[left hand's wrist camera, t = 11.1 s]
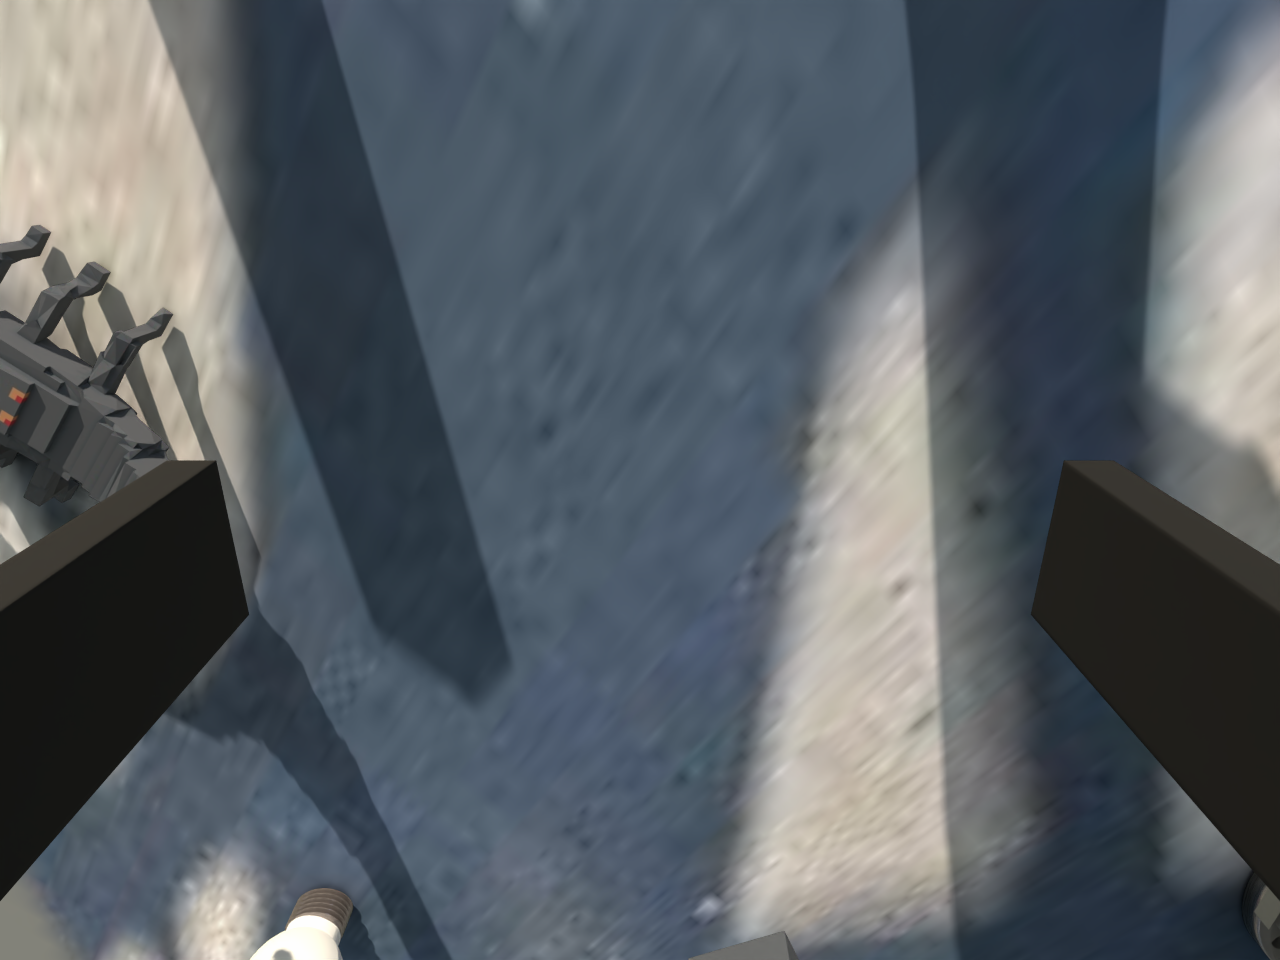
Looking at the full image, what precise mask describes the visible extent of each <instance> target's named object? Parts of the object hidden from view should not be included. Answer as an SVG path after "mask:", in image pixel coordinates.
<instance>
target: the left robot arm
mask: <svg viewBox="0 0 1280 960" xmlns="http://www.w3.org/2000/svg"><path fill="white" fill-rule="evenodd" d="M248 615H249V612H248V607H247V603H246V598H245V593H244V589H243V584H242V579H241V575H240V570H239V565H238V561H237V556H236V551H235V547H234V542H233V537H232V533H231V528H230V523H229V519H228V514H227V509H226V505H225V500H224V495H223V491H222V486H221V481H220V477H219V472H218V467H217V463H216V461H165V462H164V463H162V464H160V465H159V466H157V467H156V468H154V469H152V470H151V471H149V472H148V473H146V474H144V475H143V476H141V477H140V478H138V479H136V480H135V481H133V482H132V483H130V484H128V485H127V486H125V487H124V488H122V489H120V490H119V491H117V492H116V493H114V494H112V495H111V496H109V497H108V498H106V499H104V500H103V501H101V502H100V503H98V504H96V505H95V506H93V507H92V508H90V509H88V510H87V511H85V512H84V513H82V514H80V515H79V516H77V517H76V518H74V519H73V520H71V521H69V522H68V523H66V524H65V525H63V526H61V527H60V528H58V529H57V530H55V531H53V532H52V533H50V534H49V535H47V536H45V537H44V538H42V539H41V540H39V541H37V542H36V543H34V544H33V545H31V546H29V547H28V548H26V549H25V550H23V551H21V552H20V553H18V554H17V555H15V556H13V557H12V558H10V559H9V560H7V561H5V562H4V563H2V564H1V565H0V901H1V900H2V899H3V897H4V896H5V895H6V894H7V893H8V892H9V890H10V889H11V888H12V887H13V886H14V885H15V884H16V882H17V881H18V880H19V879H20V878H21V877H22V875H23V874H24V873H25V872H26V871H27V870H28V869H29V867H30V866H31V865H32V864H33V863H34V862H35V861H36V859H37V858H38V857H39V856H40V855H41V854H42V852H43V851H44V850H45V849H46V848H47V847H48V846H49V844H50V843H51V842H52V841H53V840H54V839H55V837H56V836H57V835H58V834H59V833H60V832H61V831H62V829H63V828H64V827H65V826H66V825H67V824H68V822H69V821H70V820H71V819H72V818H73V817H74V816H75V814H76V813H77V812H78V811H79V810H80V809H81V808H82V806H83V805H84V804H85V803H86V802H87V801H88V799H89V798H90V797H91V796H92V795H93V794H94V793H95V791H96V790H97V789H98V788H99V787H100V786H101V784H102V783H103V782H104V781H105V780H106V779H107V778H108V776H109V775H110V774H111V773H112V772H113V771H114V770H115V768H116V767H117V766H118V765H119V764H120V763H121V761H122V760H123V759H124V758H125V757H126V756H127V755H128V753H129V752H130V751H131V750H132V749H133V748H134V746H135V745H136V744H137V743H138V742H139V741H140V740H141V738H142V737H143V736H144V735H145V734H146V733H147V731H148V730H149V729H150V728H151V727H152V726H153V725H154V723H155V722H156V721H157V720H158V719H159V718H160V717H161V715H162V714H163V713H164V712H165V711H166V710H167V708H168V707H169V706H170V705H171V704H172V703H173V702H174V700H175V699H176V698H177V697H178V696H179V695H180V693H181V692H182V691H183V690H184V689H185V688H186V687H187V685H188V684H189V683H190V682H191V681H192V680H193V679H194V677H195V676H196V675H197V674H198V673H199V672H200V670H201V669H202V668H203V667H204V666H205V665H206V664H207V662H208V661H209V660H210V659H211V658H212V657H213V655H214V654H215V653H216V652H217V651H218V650H219V649H220V647H221V646H222V645H223V644H224V643H225V642H226V640H227V639H228V638H229V637H230V636H231V635H232V634H233V632H234V631H235V630H236V629H237V628H238V627H239V626H240V624H241V623H242V622H243V621H244V620H245V619H246V617H247V616H248ZM1031 615H1032V616H1033V617H1034V619H1035V620H1036V621H1037V622H1038V623H1039V624H1040V626H1041V627H1042V628H1043V629H1044V630H1045V631H1046V632H1047V634H1048V635H1049V636H1050V637H1051V638H1052V639H1053V640H1054V642H1055V643H1056V644H1057V645H1058V646H1059V647H1060V649H1061V650H1062V651H1063V652H1064V653H1065V654H1066V655H1067V657H1068V658H1069V659H1070V660H1071V661H1072V662H1073V664H1074V665H1075V666H1076V667H1077V668H1078V669H1079V670H1080V672H1081V673H1082V674H1083V675H1084V676H1085V677H1086V679H1087V680H1088V681H1089V682H1090V683H1091V684H1092V685H1093V687H1094V688H1095V689H1096V690H1097V691H1098V692H1099V693H1100V695H1101V696H1102V697H1103V698H1104V699H1105V700H1106V702H1107V703H1108V704H1109V705H1110V706H1111V707H1112V708H1113V710H1114V711H1115V712H1116V713H1117V714H1118V715H1119V717H1120V718H1121V719H1122V720H1123V721H1124V722H1125V723H1126V725H1127V726H1128V727H1129V728H1130V729H1131V730H1132V731H1133V733H1134V734H1135V735H1136V736H1137V737H1138V738H1139V740H1140V741H1141V742H1142V743H1143V744H1144V745H1145V746H1146V748H1147V749H1148V750H1149V751H1150V752H1151V753H1152V755H1153V756H1154V757H1155V758H1156V759H1157V760H1158V761H1159V763H1160V764H1161V765H1162V766H1163V767H1164V768H1165V770H1166V771H1167V772H1168V773H1169V774H1170V775H1171V776H1172V778H1173V779H1174V780H1175V781H1176V782H1177V783H1178V784H1179V786H1180V787H1181V788H1182V789H1183V790H1184V791H1185V793H1186V794H1187V795H1188V796H1189V797H1190V798H1191V799H1192V801H1193V802H1194V803H1195V804H1196V805H1197V806H1198V808H1199V809H1200V810H1201V811H1202V812H1203V813H1204V814H1205V816H1206V817H1207V818H1208V819H1209V820H1210V821H1211V822H1212V824H1213V825H1214V826H1215V827H1216V828H1217V829H1218V831H1219V832H1220V833H1221V834H1222V835H1223V836H1224V837H1225V839H1226V840H1227V841H1228V842H1229V843H1230V844H1231V846H1232V847H1233V848H1234V849H1235V850H1236V851H1237V852H1238V854H1239V855H1240V856H1241V857H1242V858H1243V859H1244V861H1245V862H1246V863H1247V864H1248V865H1249V866H1250V867H1251V869H1252V870H1253V871H1254V872H1255V873H1256V874H1257V875H1258V877H1259V878H1260V879H1261V880H1262V881H1263V882H1264V884H1265V885H1266V886H1267V887H1268V888H1269V889H1270V890H1271V892H1272V893H1273V894H1274V895H1275V896H1276V897H1277V899H1278V900H1279V901H1280V565H1279V564H1278V563H1276V562H1275V561H1273V560H1271V559H1270V558H1268V557H1267V556H1265V555H1263V554H1262V553H1260V552H1259V551H1257V550H1255V549H1254V548H1252V547H1251V546H1249V545H1247V544H1246V543H1244V542H1243V541H1241V540H1239V539H1238V538H1236V537H1235V536H1233V535H1231V534H1230V533H1228V532H1227V531H1225V530H1223V529H1222V528H1220V527H1219V526H1217V525H1215V524H1214V523H1212V522H1211V521H1209V520H1207V519H1206V518H1204V517H1203V516H1201V515H1200V514H1198V513H1196V512H1195V511H1193V510H1192V509H1190V508H1188V507H1187V506H1185V505H1184V504H1182V503H1180V502H1179V501H1177V500H1176V499H1174V498H1172V497H1171V496H1169V495H1168V494H1166V493H1164V492H1163V491H1161V490H1160V489H1158V488H1156V487H1155V486H1153V485H1152V484H1150V483H1148V482H1147V481H1145V480H1144V479H1142V478H1140V477H1139V476H1137V475H1136V474H1134V473H1132V472H1131V471H1129V470H1128V469H1126V468H1124V467H1123V466H1121V465H1120V464H1118V463H1116V462H1115V461H1064V463H1063V467H1062V472H1061V477H1060V481H1059V486H1058V491H1057V495H1056V500H1055V505H1054V509H1053V514H1052V519H1051V523H1050V528H1049V533H1048V537H1047V542H1046V547H1045V551H1044V556H1043V561H1042V565H1041V570H1040V575H1039V579H1038V584H1037V589H1036V593H1035V598H1034V603H1033V607H1032V612H1031Z"/></svg>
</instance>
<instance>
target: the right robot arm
mask: <svg viewBox="0 0 1280 960" xmlns="http://www.w3.org/2000/svg"><path fill="white" fill-rule="evenodd" d="M1242 916H1243V920H1244V923H1245V926H1246V928H1247V930H1248V932H1249V933H1250V935H1251V936H1252V937H1253V939H1254V940H1255V941H1256V942H1257V944H1258V945H1259V946H1260V947H1261V949H1262V950H1263V951H1264V952H1265V954H1266V955H1267V956H1268V957H1269V959H1270V960H1280V901H1279V900H1278V899H1277V897H1276V896H1275V895H1274V894H1273V893H1272V892H1271V890H1270V889H1269V888H1268V887H1267V886H1266V885H1265V884H1264V882H1263V881H1262V880H1261V879H1260V878H1259V877H1258V875H1257V874H1256V873H1255V872H1254V873H1253V875H1252V876H1251V878H1250V880H1249V882H1248V884H1247V886H1246V889H1245V892H1244V896H1243V900H1242Z"/></svg>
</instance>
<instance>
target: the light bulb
mask: <svg viewBox="0 0 1280 960" xmlns="http://www.w3.org/2000/svg"><path fill="white" fill-rule="evenodd" d="M352 910H353V904H352V901H351V900H350V899H349V897H348V896H347V895H345V894H344V893H342V892H340V891H337V890H334V889H327V888H321V889H314V890H311V891H309V892H306V893H305V894H303V895H302V896H301V897H300V898H299V900H298V901H297V903H296V905H295V908H294V910H293V912H292V914H291V916H290V919H289V920H288V923H287V925H286V927H285V931H284V932H281V933H280V934H278V935H276V936H275V937H273V938H272V939H270V940H269V941H267V942H266V943H265V944H264V945H263V946H262V947H261V948H260V949H258V951H257V952H256V953H255V954H254V955H253V956H252V958H251V959H250V960H343V959H342V956H341V952H340V950H339V947H338V945H339V943H340V940H341V938H342V937H343V933H344V931H345V928H346V926H347V923H348V921H349V918H350V916H351V913H352Z"/></svg>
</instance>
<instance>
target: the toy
mask: <svg viewBox="0 0 1280 960" xmlns="http://www.w3.org/2000/svg"><path fill="white" fill-rule="evenodd" d="M50 234H51V232H50V231H48V230H47V229H45V228H44V227H42V226H41V225H35V226H31V228H30V229H29V231H28V233H27V234H26V236H25V237H24V238H23V239H22V240H21V241H16V242H10V243H3V244H0V283H1V282H2V280H3V278H4V276H5V275H6V273H7V271H8V270H9V268H10V266H11V264H13V263H15V262H18V261H20V260H22V259H26V258H31V257H36V256H40V255H41V252H42V250H43V248H44V246H45V244H46V242H47V240H48V238H49V236H50ZM110 273H111V272H109V271H108V270H106V269H105V268H103V267H102V266H101V265H99V264H98V263H96V262H89V263H87V264H86V265H85V267H84V268H83V269H82V271H81V272H80V273H79V275H78V276H77V278H75V279H73V280H71V281H70V282H68V283H64V284H59V285H55V286H52V287H50V288H48V289H46V290H44V291H42V292H41V294H40V295H39V297H38V299H37V301H36V303H35V305H34V307H33V309H32V311H31V313H30V315H29V317H28V318H27V320H26V322H25V323H24V322H23V321H21V320H20V319H18V318H16V317H15V316H13V315H12V314H10V313H9V312H7V311H0V467H1V468H3V467H5V466H7V465H10V464H12V463H13V461H14V459H15V457H16V455H17V453H18V452H19V453H20V454H22V455H24V456H25V457H27V458H29V459H31V460H32V461H34V462H36V463H38V466H37V468H36V470H35V472H34V474H33V477H32V479H31V481H30V483H29V485H28V488H27V490H26V492H25V495H24V498H26V499H28V500H29V501H31V502H33V503H34V504H36V505H38V506H41V505H42V504H44V503H45V502H47V501H48V500H50V499H51V498H53V497H54V498H56V499H57V500H59V501H60V502H61V503H63V502H65V501H67V500H69V499H71V497H72V495H73V494H74V492H75V490H76V488H77V486H78V485H79V483H77V482H75V481H74V480H77V481H79V482H80V483H81V484H82V488H84V489H85V490H87V491H88V492H89V493H90V494H89V496H90V497H92V498H94V499H95V500H97V501H99V502H101V501H103V500H104V499H106V498H108V497H109V496H111V495H112V494H114V493H116V492H117V491H119V490H120V489H122V488H124V487H125V486H127V485H128V484H130V483H132V482H133V481H135V480H136V479H138V478H140V477H141V476H143V475H144V474H146V473H148V472H149V471H151V470H152V469H154V468H156V467H157V466H159V465H160V464H162V463H164V462H165V461H170V460H169V459H168V458H167V456H166V451H167V450H168V448H169V446H168V445H167V444H166V443H165V442H164V441H163V440H162V438H160V437H159V436H158V435H157V434H156V433H154V432H153V431H152V430H151V429H150V428H149V427H148V426H146V425H145V424H144V423H143V422H142V421H141V420H140V419H139V418H138V417H137V416H136V415H137V412H136V411H135V410H134V409H133V408H132V407H130V406H129V405H128V404H127V403H126V402H125V401H123V400H122V399H121V398H120V397H119V396H118V395H116V394H115V393H116V391H117V389H118V386H119V384H120V382H121V380H122V378H123V376H124V374H125V372H126V369H127V368H128V367H129V365H130V364H131V362H132V361H133V359H134V357H135V356H136V354H137V353H138V351H139V350H140V348H141V346H142V345H143V344H144V343H146V342H147V341H149V340H152V339H154V338H157V337H160V336H161V335H162V333H163V332H164V330H165V328H166V326H167V324H168V323H169V321H170V319H171V317H172V315H173V314H172V313H171V312H169V311H168V310H166V309H165V308H162V309H161V310H159V311H158V312H157V313H156V314H155V315H154V316H153V317H152V318H150V320H149V321H148V322H147V323H146V324H144V325H141V326H138V327H135V328H132V329H129V330H127V331H124V332H123V331H122V330H120V331H117V332H114V333H113V335H112V337H111V339H110V342H109V344H108V346H107V348H106V350H105V351H103V352H100V354H99V357H98V359H97V361H96V363H95V366H94V368H93V367H92V366H90V365H89V364H87V363H86V362H84V361H83V360H81V359H80V358H78V357H77V356H75V355H74V354H73V353H71V352H70V351H68V350H66V349H60V348H59V347H57V346H56V345H55V344H54V343H53V342H51V341H50V340H49V339H48V338H47V337H48V336H50V335H51V334H52V333H53V331H54V329H55V328H56V326H57V324H58V323H59V321H60V319H61V318H62V316H63V314H64V313H65V311H66V309H67V308H68V306H69V305H70V303H71V302H72V300H73V299H76V298H80V297H85V296H90V295H94V294H96V293H97V292H99V291H101V290H102V288H103V286H104V284H105V282H106V280H107V278H108V276H109V275H110Z"/></svg>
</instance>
